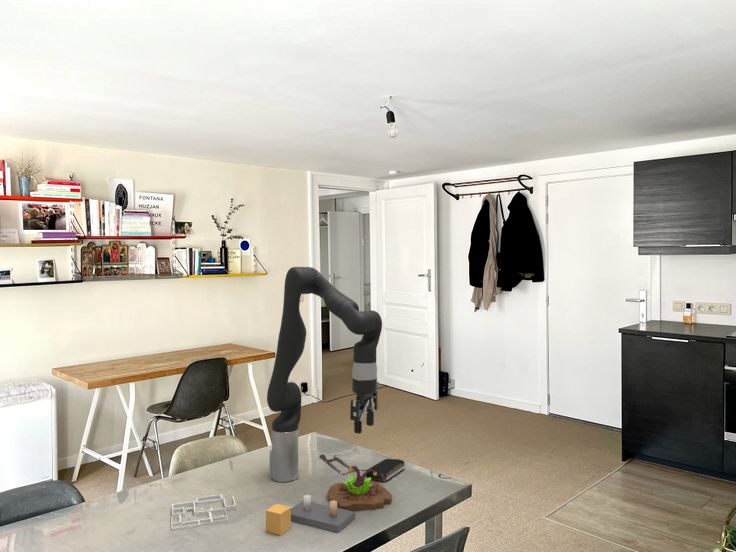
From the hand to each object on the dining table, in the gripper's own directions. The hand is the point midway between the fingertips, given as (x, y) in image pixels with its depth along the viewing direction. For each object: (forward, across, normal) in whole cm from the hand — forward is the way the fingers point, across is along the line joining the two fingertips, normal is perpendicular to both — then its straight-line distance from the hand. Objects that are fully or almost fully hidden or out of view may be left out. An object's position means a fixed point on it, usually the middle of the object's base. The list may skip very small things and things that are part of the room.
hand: (364, 429), depth 172 cm
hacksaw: (+26, -32, -23) cm, 47 cm away
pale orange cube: (+25, +22, -16) cm, 37 cm away
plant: (+26, -7, -5) cm, 27 cm away
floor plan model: (+26, +20, -45) cm, 56 cm away
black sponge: (+26, -30, -6) cm, 40 cm away
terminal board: (+25, +11, -9) cm, 29 cm away
